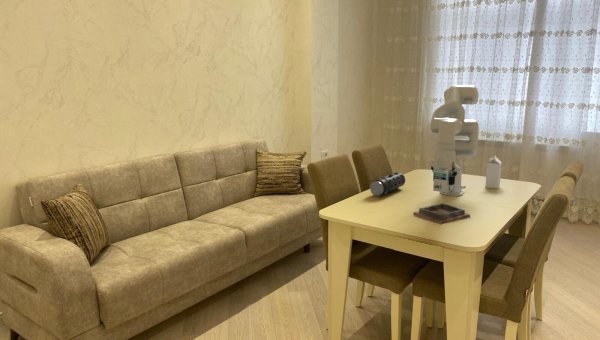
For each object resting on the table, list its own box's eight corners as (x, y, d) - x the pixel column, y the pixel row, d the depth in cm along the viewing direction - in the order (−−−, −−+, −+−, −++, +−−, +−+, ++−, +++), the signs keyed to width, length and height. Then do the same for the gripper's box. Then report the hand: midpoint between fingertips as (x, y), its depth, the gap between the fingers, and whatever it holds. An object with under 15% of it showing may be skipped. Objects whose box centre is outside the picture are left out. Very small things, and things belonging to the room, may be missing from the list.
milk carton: (499, 186, 266) (502, 155, 263) (497, 189, 261) (500, 157, 257) (487, 185, 270) (489, 154, 266) (485, 187, 264) (487, 156, 260)
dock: (441, 208, 222) (442, 201, 222) (470, 217, 208) (470, 210, 207) (413, 214, 212) (413, 208, 212) (441, 224, 198) (441, 217, 197)
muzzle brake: (405, 189, 261) (406, 172, 259) (383, 199, 240) (384, 181, 237) (390, 187, 267) (391, 170, 265) (368, 197, 245) (368, 179, 243)
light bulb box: (447, 193, 201) (448, 170, 199) (432, 191, 205) (433, 168, 203) (453, 188, 210) (455, 166, 208) (439, 186, 214) (440, 164, 212)
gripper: (426, 145, 209) (424, 180, 212) (455, 149, 194) (453, 187, 198) (436, 143, 212) (434, 178, 216) (466, 148, 198) (464, 185, 201)
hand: (443, 182), depth 207 cm, fingers closed on light bulb box, 8 cm apart
